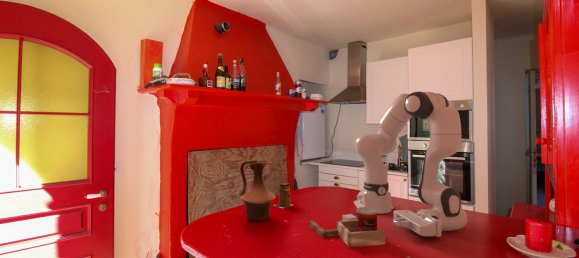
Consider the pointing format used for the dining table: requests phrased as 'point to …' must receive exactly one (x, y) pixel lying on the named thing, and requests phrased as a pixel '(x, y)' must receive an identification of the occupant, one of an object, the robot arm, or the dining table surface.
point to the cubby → (359, 235)
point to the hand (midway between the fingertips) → (394, 222)
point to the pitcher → (256, 192)
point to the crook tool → (323, 232)
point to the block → (348, 217)
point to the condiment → (284, 196)
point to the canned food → (366, 219)
